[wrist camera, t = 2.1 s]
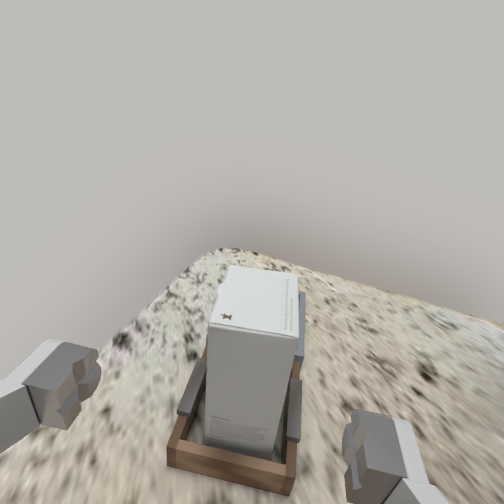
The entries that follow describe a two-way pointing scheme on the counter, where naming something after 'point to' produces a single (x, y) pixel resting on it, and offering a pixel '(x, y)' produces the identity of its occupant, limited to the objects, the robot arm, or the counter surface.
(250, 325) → the skincare box
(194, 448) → the walnut caddy
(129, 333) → the counter surface
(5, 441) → the robot arm
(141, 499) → the counter surface
